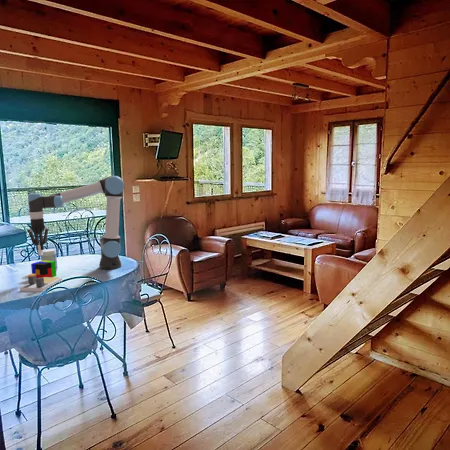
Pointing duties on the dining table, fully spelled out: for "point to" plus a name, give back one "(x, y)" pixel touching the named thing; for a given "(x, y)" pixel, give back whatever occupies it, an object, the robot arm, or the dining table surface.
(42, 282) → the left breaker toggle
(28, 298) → the dining table surface
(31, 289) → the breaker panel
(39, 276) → the puzzle toy
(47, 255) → the supplement tub
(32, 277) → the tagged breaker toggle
